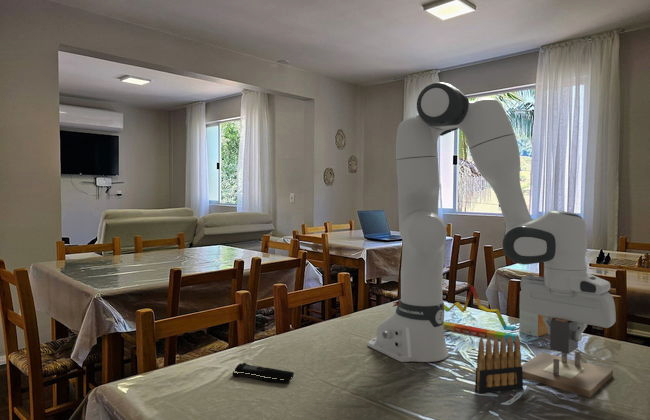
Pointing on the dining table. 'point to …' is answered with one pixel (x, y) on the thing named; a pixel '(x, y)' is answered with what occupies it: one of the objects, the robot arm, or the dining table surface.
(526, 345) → the dining table surface
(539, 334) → the small box
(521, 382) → the ammunition clip
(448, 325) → the chart
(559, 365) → the board
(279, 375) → the electric trimmer
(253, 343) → the dining table surface
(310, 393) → the dining table surface
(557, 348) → the plug block
